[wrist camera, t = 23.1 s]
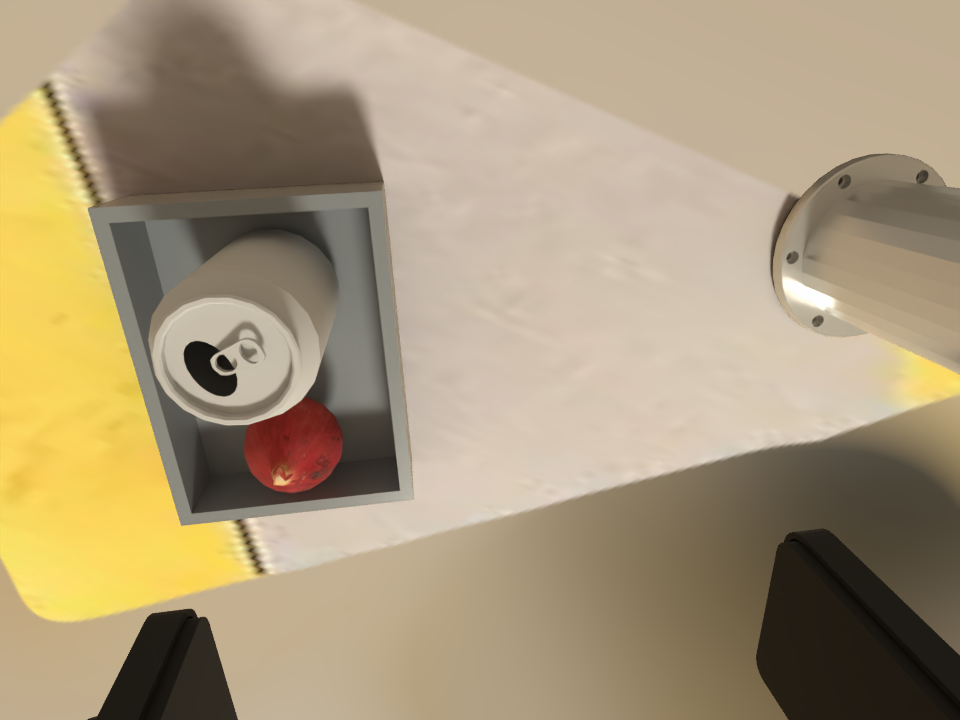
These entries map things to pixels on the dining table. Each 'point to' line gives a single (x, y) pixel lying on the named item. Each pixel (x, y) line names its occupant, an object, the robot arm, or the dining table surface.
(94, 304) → the dining table surface
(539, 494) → the dining table surface
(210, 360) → the can
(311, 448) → the onion
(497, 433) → the dining table surface
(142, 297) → the tote
